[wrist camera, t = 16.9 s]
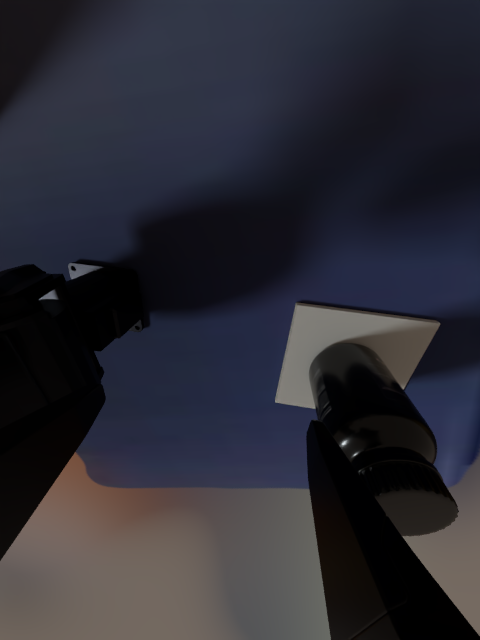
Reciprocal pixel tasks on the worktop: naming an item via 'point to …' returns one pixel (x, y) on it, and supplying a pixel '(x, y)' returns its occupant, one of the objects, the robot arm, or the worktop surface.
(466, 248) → the worktop surface
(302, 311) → the place mat
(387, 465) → the supplement bottle
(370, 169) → the worktop surface
